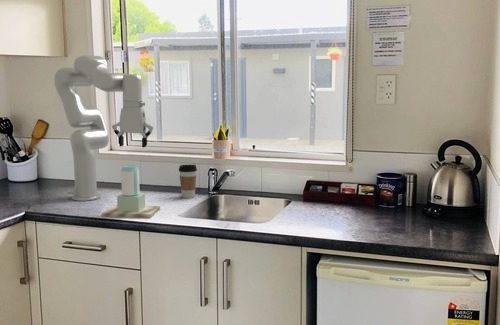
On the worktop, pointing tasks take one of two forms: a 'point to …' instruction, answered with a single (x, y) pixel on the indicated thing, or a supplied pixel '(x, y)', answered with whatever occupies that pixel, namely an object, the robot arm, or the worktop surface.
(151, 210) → the birch board
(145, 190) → the worktop surface
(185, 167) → the coffee cup
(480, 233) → the worktop surface
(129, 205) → the sage brick
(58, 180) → the worktop surface
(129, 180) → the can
